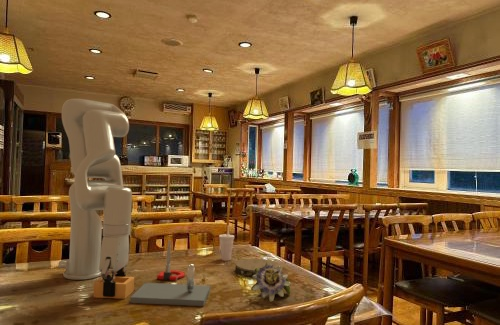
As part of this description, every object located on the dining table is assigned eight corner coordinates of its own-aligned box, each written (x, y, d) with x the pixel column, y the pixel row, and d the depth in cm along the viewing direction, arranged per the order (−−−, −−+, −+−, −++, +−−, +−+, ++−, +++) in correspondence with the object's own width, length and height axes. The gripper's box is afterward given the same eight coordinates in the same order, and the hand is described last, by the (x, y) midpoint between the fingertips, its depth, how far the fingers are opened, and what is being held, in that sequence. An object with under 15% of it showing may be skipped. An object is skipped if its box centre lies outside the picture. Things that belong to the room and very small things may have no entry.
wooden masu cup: (93, 297, 98) (94, 282, 98) (104, 289, 104) (104, 275, 104) (125, 298, 97) (125, 284, 97) (133, 290, 104) (134, 276, 104)
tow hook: (164, 273, 124) (153, 279, 114) (167, 236, 124) (156, 240, 115) (187, 275, 122) (178, 282, 113) (190, 237, 123) (180, 241, 114)
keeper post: (185, 292, 99) (186, 264, 99) (187, 290, 101) (188, 262, 101) (192, 293, 99) (193, 264, 99) (194, 290, 101) (195, 263, 101)
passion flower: (270, 320, 99) (250, 289, 96) (258, 299, 109) (240, 271, 106) (302, 296, 101) (284, 266, 97) (287, 278, 111) (270, 249, 108)
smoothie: (233, 261, 140) (234, 226, 140) (217, 261, 140) (218, 226, 140) (234, 257, 146) (235, 224, 146) (218, 257, 146) (220, 223, 146)
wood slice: (286, 277, 123) (286, 268, 123) (243, 280, 117) (244, 272, 117) (268, 265, 138) (268, 257, 138) (230, 267, 132) (230, 259, 132)
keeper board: (130, 302, 95) (130, 297, 95) (145, 287, 107) (145, 282, 107) (203, 306, 94) (203, 300, 94) (210, 290, 106) (210, 285, 106)
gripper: (116, 224, 110) (114, 281, 110) (89, 234, 93) (86, 302, 92) (140, 225, 110) (137, 282, 109) (117, 235, 92) (114, 304, 92)
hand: (114, 291), depth 101 cm, fingers closed on wooden masu cup, 6 cm apart
